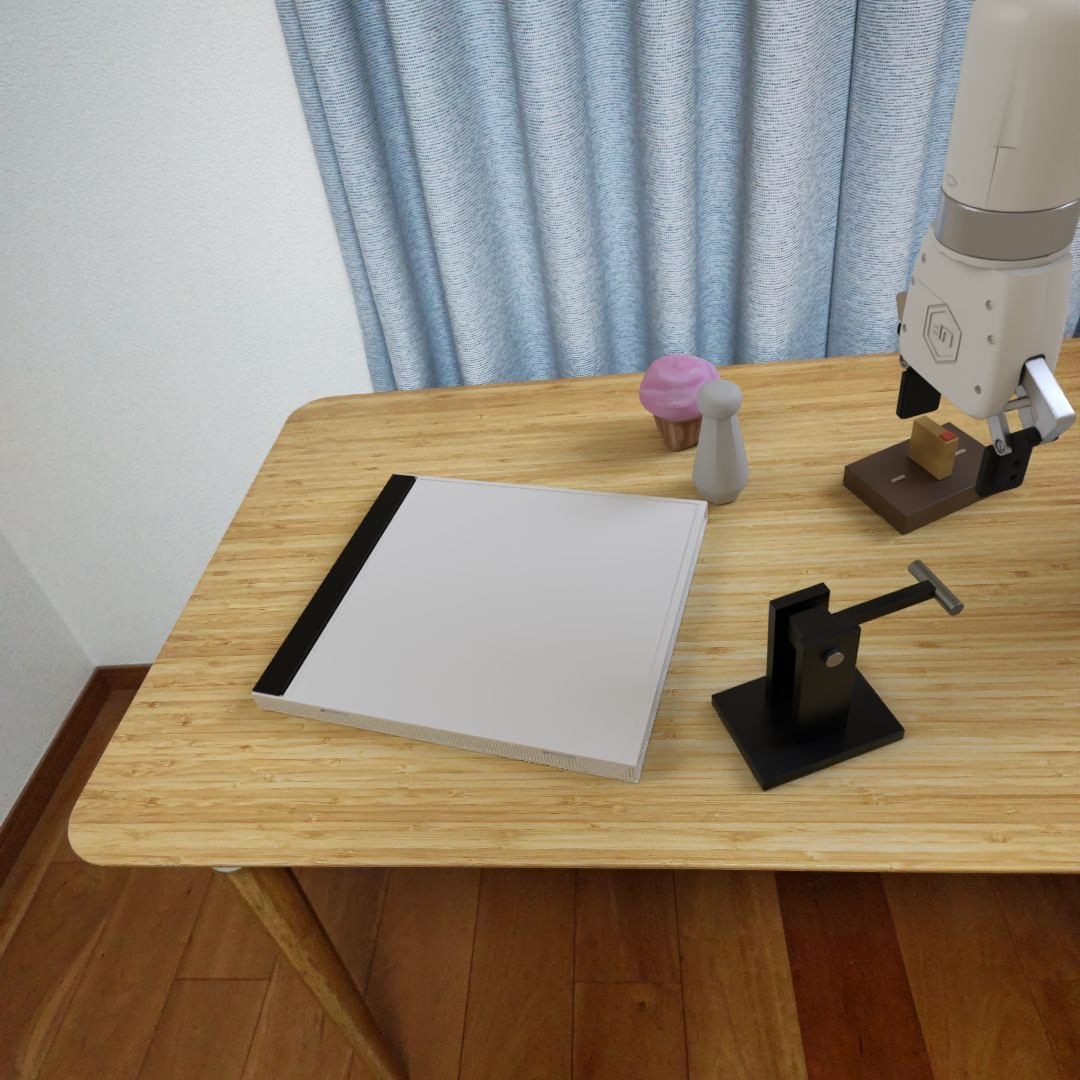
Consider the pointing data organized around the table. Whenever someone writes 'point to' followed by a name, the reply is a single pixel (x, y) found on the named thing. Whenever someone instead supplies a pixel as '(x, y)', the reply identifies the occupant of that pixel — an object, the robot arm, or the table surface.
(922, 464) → the thumb turn
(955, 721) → the table surface
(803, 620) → the door handle
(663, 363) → the cupcake
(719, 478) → the salt shaker
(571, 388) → the table surface
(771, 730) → the handle bracket
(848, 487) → the plate
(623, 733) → the cd case
